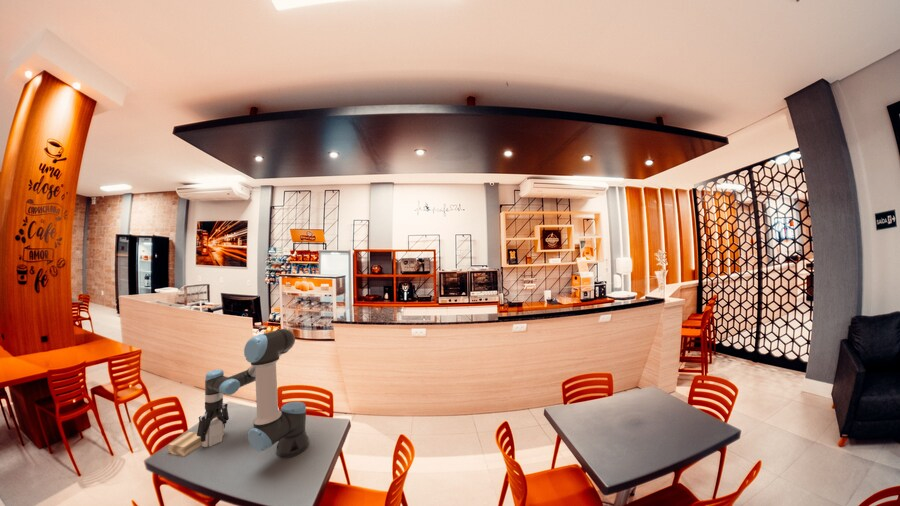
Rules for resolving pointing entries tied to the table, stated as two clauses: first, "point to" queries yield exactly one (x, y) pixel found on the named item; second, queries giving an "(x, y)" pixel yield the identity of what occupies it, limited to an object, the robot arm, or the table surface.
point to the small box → (214, 432)
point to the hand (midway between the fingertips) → (213, 440)
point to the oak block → (185, 444)
